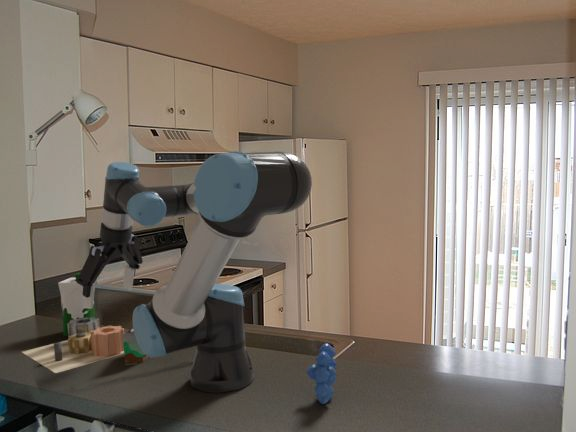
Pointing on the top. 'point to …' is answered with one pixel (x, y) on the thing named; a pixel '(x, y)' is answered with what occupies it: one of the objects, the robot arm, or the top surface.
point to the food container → (132, 349)
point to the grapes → (324, 373)
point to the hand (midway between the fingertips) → (108, 297)
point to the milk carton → (73, 302)
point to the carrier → (66, 353)
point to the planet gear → (107, 341)
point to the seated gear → (82, 325)
